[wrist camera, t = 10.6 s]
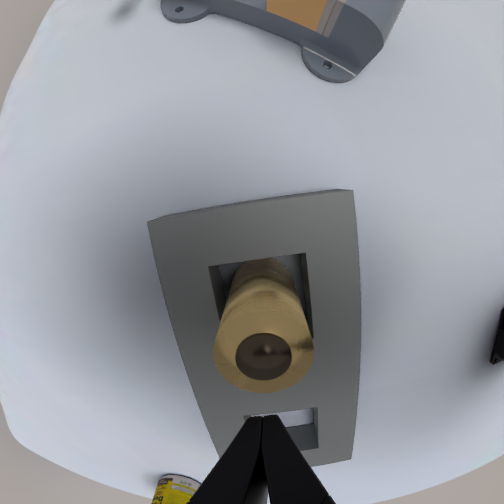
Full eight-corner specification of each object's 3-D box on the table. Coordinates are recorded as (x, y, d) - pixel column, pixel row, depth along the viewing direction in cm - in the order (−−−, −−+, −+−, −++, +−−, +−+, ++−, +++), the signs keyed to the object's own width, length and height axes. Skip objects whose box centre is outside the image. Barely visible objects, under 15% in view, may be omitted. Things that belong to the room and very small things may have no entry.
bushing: (290, 252, 18) (311, 306, 10) (296, 310, 19) (316, 389, 11) (227, 261, 18) (202, 320, 10) (237, 318, 19) (223, 399, 11)
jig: (338, 188, 17) (352, 190, 14) (344, 436, 22) (351, 459, 19) (164, 215, 18) (147, 221, 15) (229, 449, 23) (226, 473, 20)
